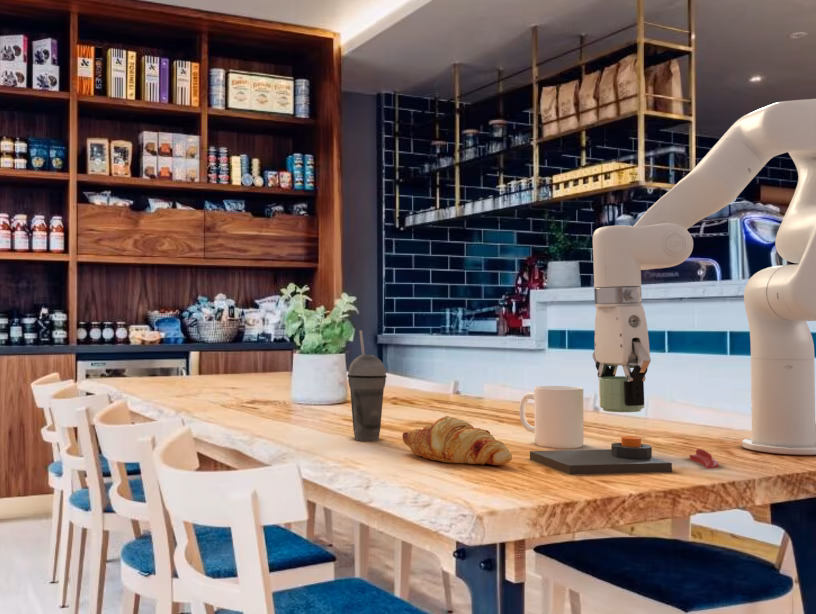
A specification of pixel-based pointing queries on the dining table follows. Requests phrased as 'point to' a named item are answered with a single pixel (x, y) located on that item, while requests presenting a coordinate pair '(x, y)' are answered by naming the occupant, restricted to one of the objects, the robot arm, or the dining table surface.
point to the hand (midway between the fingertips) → (621, 402)
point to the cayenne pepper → (704, 459)
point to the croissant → (457, 443)
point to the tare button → (631, 441)
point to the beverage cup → (366, 394)
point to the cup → (556, 416)
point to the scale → (603, 460)
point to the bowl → (614, 395)
